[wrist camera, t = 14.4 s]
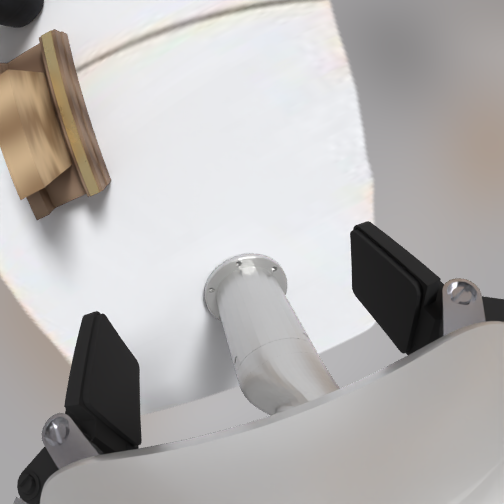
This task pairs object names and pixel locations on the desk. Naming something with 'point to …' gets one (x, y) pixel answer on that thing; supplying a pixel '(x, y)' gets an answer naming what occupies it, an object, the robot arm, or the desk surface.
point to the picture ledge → (64, 124)
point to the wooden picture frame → (30, 132)
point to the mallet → (19, 11)
